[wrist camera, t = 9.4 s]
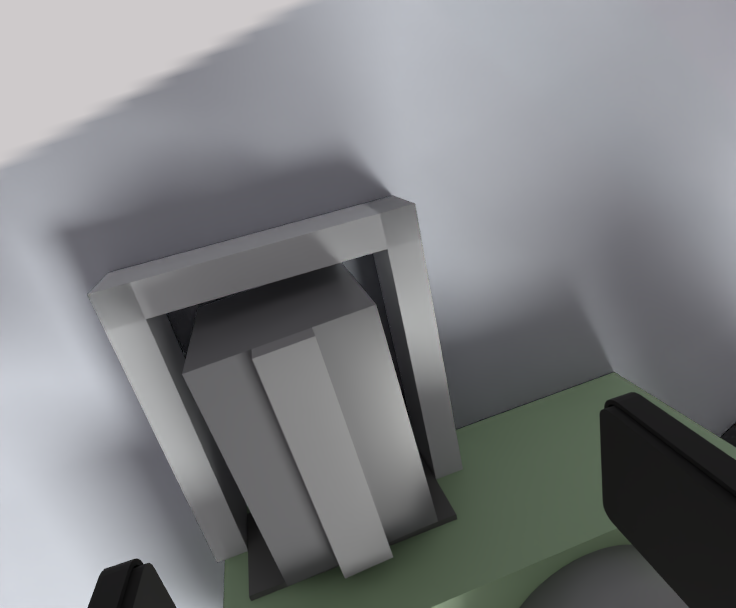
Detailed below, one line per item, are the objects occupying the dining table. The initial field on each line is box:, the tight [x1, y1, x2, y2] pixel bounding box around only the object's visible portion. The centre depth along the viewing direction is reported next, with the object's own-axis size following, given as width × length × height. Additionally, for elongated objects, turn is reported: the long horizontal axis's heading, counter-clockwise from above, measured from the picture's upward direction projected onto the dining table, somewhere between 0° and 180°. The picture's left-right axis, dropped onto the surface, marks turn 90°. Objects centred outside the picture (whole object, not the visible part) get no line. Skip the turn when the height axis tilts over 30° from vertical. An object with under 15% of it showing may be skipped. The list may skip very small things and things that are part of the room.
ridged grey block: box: [182, 263, 438, 586], centre depth 14 cm, size 4×7×5 cm, turn 16°
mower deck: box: [87, 196, 736, 608], centre depth 13 cm, size 16×16×9 cm
